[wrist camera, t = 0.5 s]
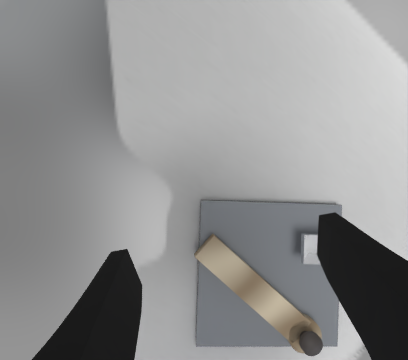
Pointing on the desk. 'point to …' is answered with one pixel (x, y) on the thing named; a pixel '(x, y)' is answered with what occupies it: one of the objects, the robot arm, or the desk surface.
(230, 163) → the desk surface
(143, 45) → the desk surface
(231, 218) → the base plate
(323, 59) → the desk surface
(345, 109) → the desk surface
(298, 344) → the tan latch lever
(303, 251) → the keeper
